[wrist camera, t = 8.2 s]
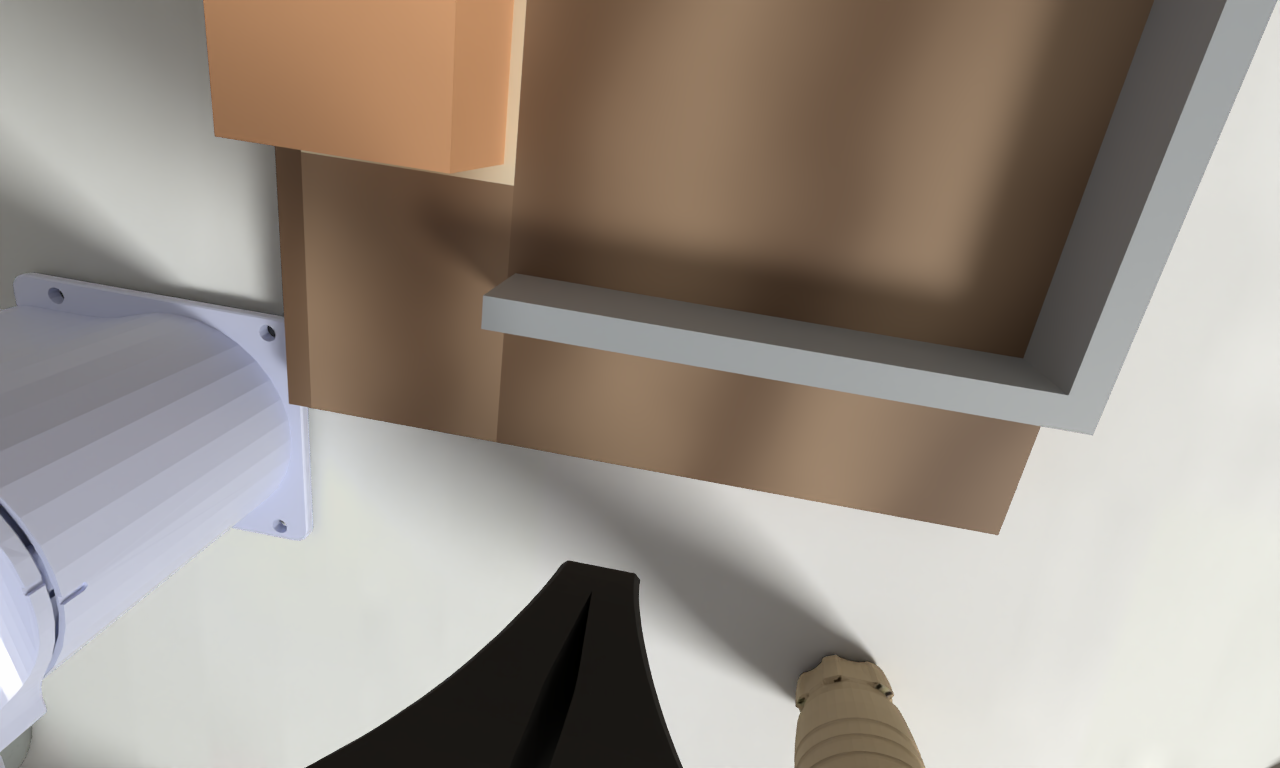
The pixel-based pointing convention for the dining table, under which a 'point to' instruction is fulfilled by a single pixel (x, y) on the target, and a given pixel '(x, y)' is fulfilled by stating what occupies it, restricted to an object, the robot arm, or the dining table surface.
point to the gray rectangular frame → (1075, 302)
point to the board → (724, 234)
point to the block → (364, 78)
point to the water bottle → (17, 750)
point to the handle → (850, 719)
